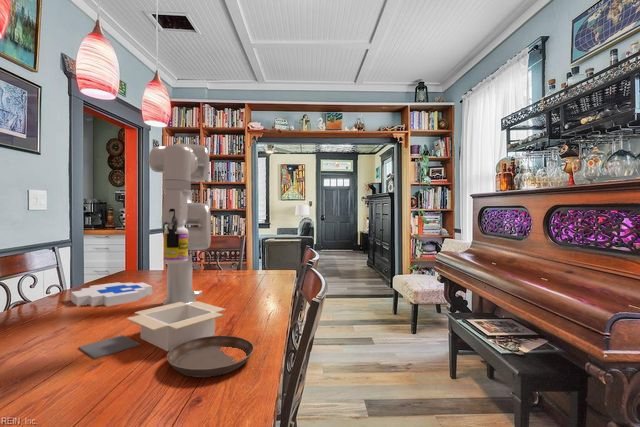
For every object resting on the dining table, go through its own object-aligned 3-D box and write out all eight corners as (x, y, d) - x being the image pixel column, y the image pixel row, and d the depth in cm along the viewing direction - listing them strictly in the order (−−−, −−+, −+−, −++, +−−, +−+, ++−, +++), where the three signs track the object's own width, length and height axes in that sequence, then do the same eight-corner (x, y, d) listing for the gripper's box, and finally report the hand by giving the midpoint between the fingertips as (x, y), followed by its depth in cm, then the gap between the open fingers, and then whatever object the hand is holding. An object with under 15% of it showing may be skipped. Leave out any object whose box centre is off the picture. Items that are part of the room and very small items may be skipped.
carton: (190, 319, 113) (191, 299, 113) (233, 333, 99) (234, 311, 99) (119, 339, 94) (120, 315, 94) (160, 360, 80) (161, 333, 80)
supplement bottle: (178, 264, 92) (179, 220, 92) (158, 263, 94) (159, 219, 94) (192, 261, 99) (193, 219, 99) (173, 260, 100) (173, 219, 100)
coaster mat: (122, 336, 96) (122, 334, 96) (140, 345, 90) (140, 343, 90) (78, 348, 87) (78, 346, 87) (95, 359, 81) (95, 357, 81)
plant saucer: (223, 340, 95) (223, 328, 95) (270, 360, 82) (270, 347, 82) (151, 364, 79) (151, 351, 79) (195, 395, 66) (195, 378, 66)
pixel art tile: (137, 279, 160) (159, 289, 142) (137, 287, 160) (159, 298, 142) (67, 288, 140) (81, 300, 121) (67, 297, 140) (81, 311, 121)
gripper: (171, 189, 104) (170, 243, 104) (154, 184, 87) (153, 249, 87) (196, 189, 106) (195, 243, 105) (183, 185, 88) (182, 249, 88)
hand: (176, 245), depth 96 cm, fingers closed on supplement bottle, 6 cm apart
